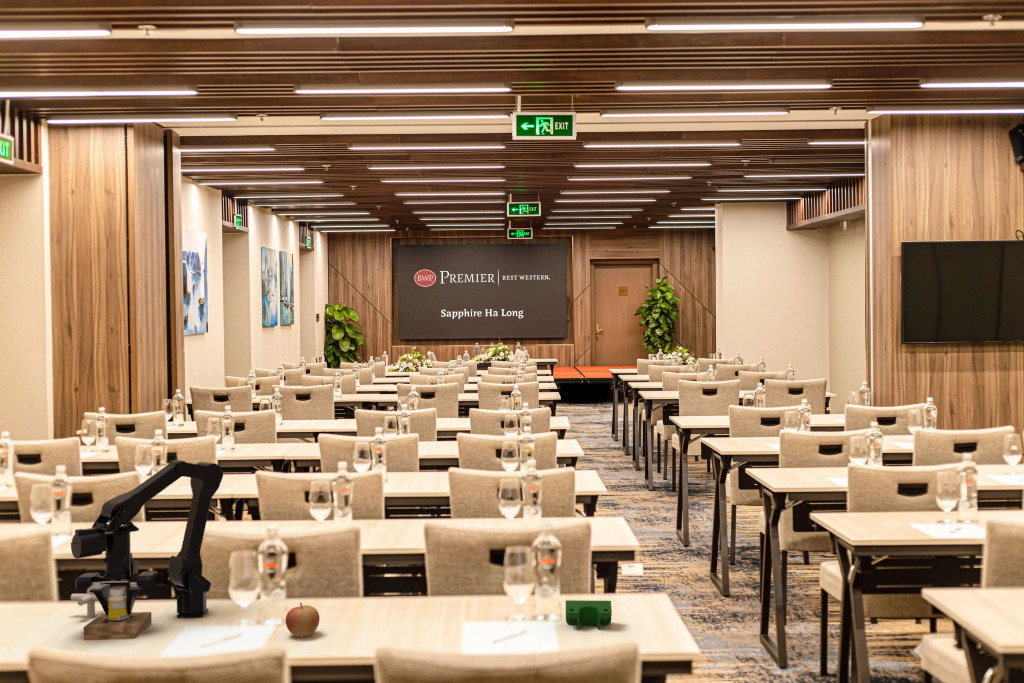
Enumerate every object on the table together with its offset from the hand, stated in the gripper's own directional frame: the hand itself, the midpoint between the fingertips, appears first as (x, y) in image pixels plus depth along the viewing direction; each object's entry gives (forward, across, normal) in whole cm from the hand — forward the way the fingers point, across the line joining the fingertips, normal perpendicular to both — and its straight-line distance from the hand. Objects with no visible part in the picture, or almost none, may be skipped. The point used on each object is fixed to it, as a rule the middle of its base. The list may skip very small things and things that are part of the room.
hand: (118, 615), depth 235 cm
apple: (+4, -46, +7) cm, 47 cm away
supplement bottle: (+2, 0, 0) cm, 2 cm away
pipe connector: (+4, +12, -14) cm, 19 cm away
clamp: (+5, -115, +6) cm, 115 cm away
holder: (+4, 0, 0) cm, 4 cm away
